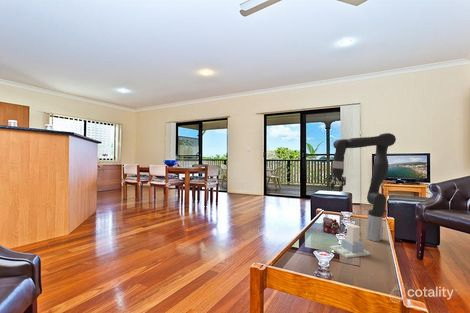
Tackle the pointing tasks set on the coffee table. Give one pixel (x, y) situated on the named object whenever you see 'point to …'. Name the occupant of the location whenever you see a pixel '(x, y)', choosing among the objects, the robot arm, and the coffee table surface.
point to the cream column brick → (353, 233)
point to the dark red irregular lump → (330, 225)
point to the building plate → (346, 253)
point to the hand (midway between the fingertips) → (336, 190)
